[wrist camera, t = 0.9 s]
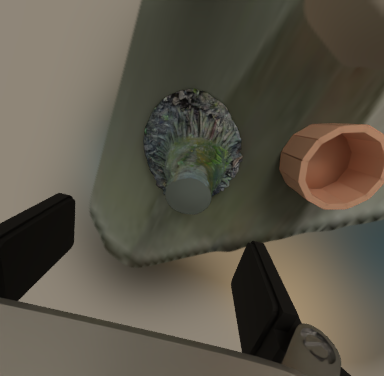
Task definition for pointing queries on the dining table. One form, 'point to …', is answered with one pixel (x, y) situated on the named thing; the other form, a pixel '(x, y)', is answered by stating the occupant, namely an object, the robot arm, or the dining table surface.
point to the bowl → (334, 164)
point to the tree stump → (192, 149)
